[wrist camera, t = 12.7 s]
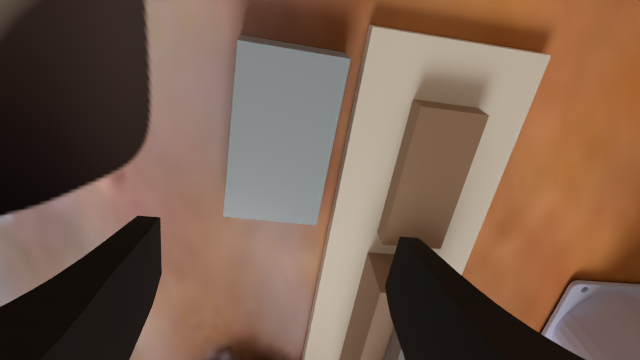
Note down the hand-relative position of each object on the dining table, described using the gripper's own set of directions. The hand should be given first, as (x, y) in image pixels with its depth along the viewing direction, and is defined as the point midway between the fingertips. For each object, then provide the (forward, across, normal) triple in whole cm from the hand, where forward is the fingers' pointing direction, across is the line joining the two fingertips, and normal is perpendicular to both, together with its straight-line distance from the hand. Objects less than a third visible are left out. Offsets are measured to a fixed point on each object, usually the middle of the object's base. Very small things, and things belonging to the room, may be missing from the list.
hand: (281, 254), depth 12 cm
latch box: (+10, -8, +6) cm, 14 cm away
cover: (+10, 0, 0) cm, 10 cm away
